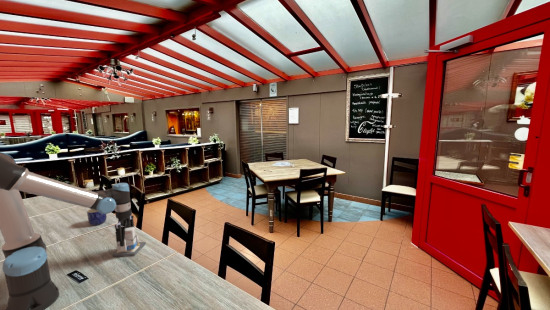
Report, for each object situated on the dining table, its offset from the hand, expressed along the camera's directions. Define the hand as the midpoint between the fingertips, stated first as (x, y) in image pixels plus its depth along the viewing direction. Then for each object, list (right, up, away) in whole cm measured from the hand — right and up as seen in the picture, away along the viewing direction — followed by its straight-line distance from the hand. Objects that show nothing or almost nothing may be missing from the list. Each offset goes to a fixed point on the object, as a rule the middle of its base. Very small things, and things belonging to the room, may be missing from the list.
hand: (127, 247), depth 127 cm
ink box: (0, -1, 0) cm, 1 cm away
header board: (0, -3, +3) cm, 4 cm away
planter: (-47, +2, +37) cm, 60 cm away
